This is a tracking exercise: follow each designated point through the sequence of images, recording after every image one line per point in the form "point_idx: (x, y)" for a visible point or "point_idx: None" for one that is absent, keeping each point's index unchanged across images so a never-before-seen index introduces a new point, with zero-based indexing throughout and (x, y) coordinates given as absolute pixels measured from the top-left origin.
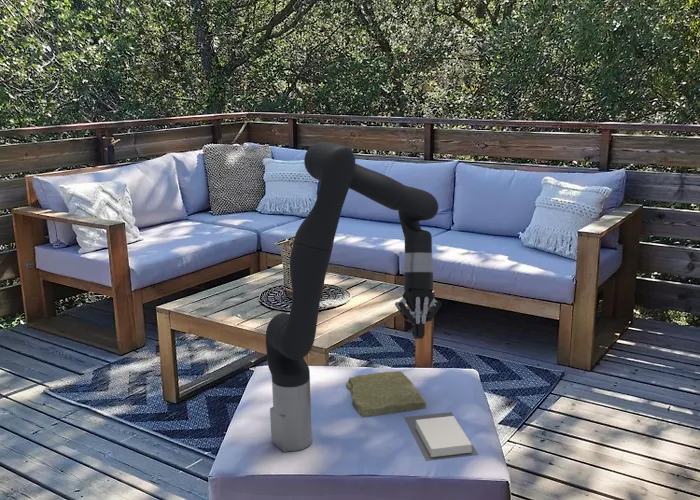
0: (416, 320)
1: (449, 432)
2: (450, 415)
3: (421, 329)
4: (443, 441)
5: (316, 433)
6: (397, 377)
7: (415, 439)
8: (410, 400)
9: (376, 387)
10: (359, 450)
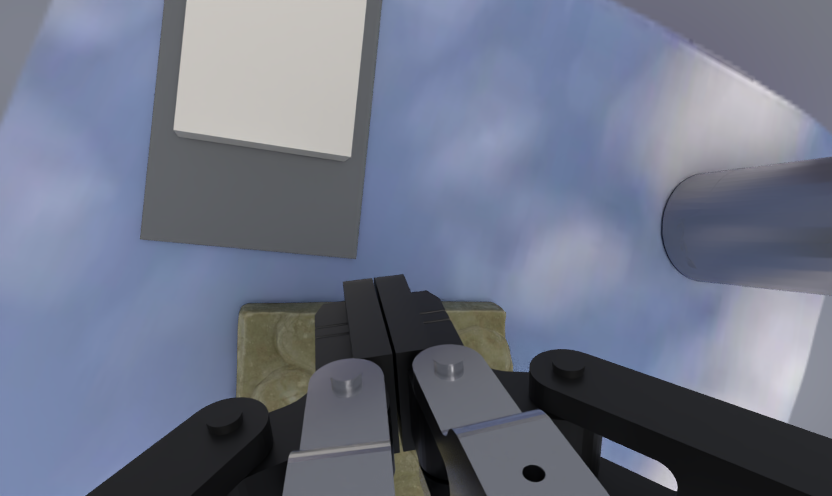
0: (478, 372)
1: (253, 8)
2: (157, 213)
3: (372, 318)
4: None
5: (641, 253)
6: None
7: (372, 90)
8: (309, 327)
9: (408, 473)
10: (557, 110)
